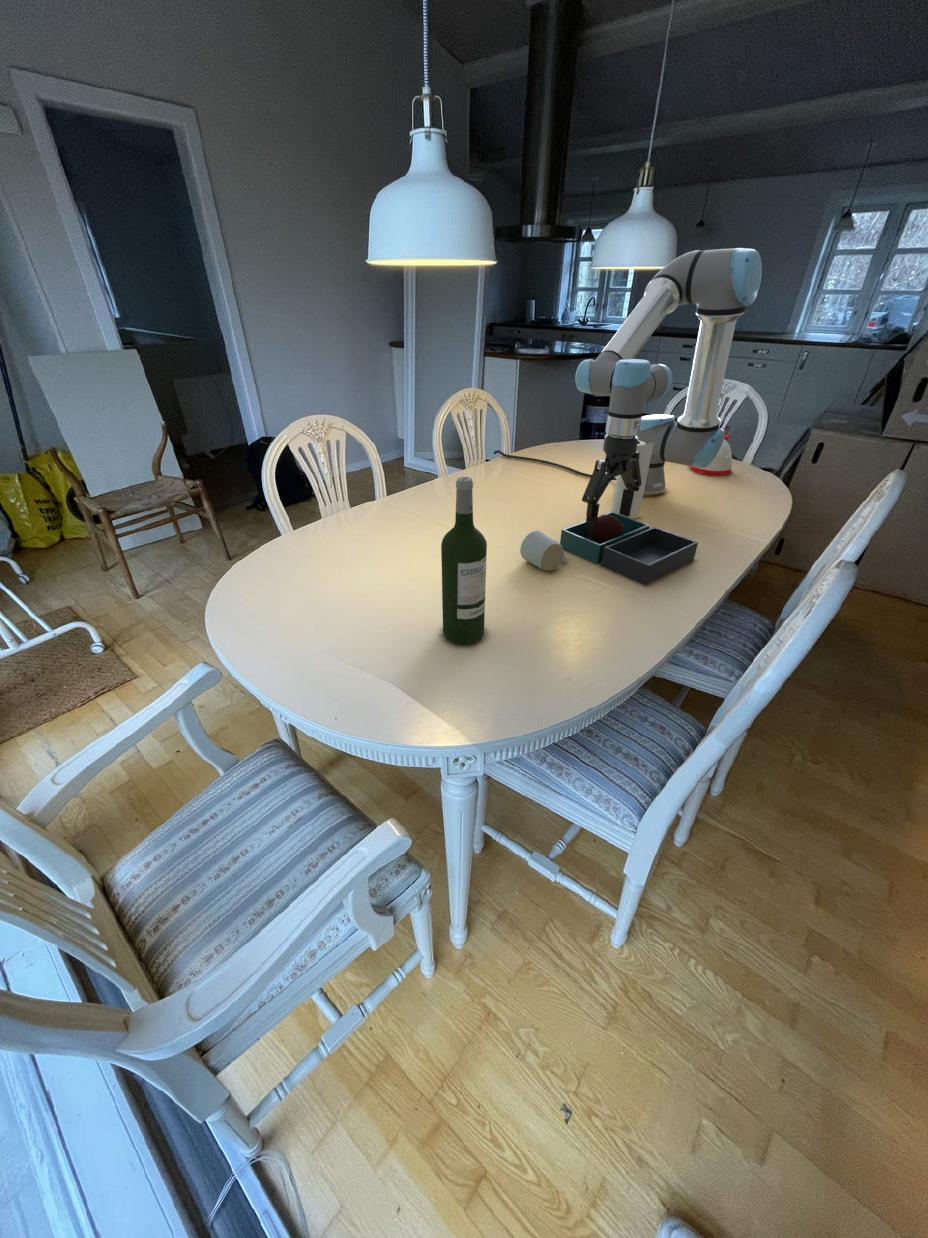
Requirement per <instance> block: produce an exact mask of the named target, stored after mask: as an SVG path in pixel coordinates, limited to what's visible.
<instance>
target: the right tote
mask: <svg viewBox="0 0 928 1238" xmlns="http://www.w3.org/2000/svg"><path fill="white" fill-rule="evenodd" d="M698 545H699V542H698V541H696V540H693V539H690V538H687V537H685V536H681V535H680V534H676V533H674V532H671V531H668V530H665V529H661V528H659V527H656V526H652V527H650V528H649V529H648V530H645V531H643V532H640V533H638V534H636V535H633V536H631V537H628V538H626V539H623V540H621V541H619V542H616V543H614V544H611V545H609V546H606V547H604V552H603V558H602V562H601V565H600V566H601V567H602V568H605V569H607V570H610V571H611V572H613V573H616V574H618V575H620V576H622V577H625V578H627V579H630V580H632V581H634V582H636V583H638V584H641V585H643V586H647V585H648V584H650V583H652V582H654V581H656V580H658V579H660V578H662V577H664V576H666V575H668V574H669V573H671V572H674V571H676V570H678V569H679V568H682V567H683V566H685V565H687V564H689V563H692V562H694V559H695V556H696V551H697V549H698Z"/></svg>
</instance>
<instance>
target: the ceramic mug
mask: <svg viewBox="0 0 928 1238" xmlns="http://www.w3.org/2000/svg"><path fill="white" fill-rule="evenodd" d="M519 550H520V556H521V557H522V559H523V560H525V561H526V562H528V563H530V564H532V565H533V566H535V567H537V568H539V569H540V570H542V571H545V572H551V571H554V570H555V569H557V568H558V567H559V566H560V564H561V563H563V564H564V563H565V562H566V561H567V559H568V556H567V555H565V550H564V549H563V547H562V546H561V545H560V542H558V541H557V540H555V539H553V538H552V537H550V536H549V535H547V534H545V532H542V531H540V530H533V531H531V532H530V533H528V534H527V535H525V537H524V538H523V540H522V543H521V545H520V549H519Z"/></svg>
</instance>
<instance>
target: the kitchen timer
mask: <svg viewBox="0 0 928 1238" xmlns="http://www.w3.org/2000/svg"><path fill="white" fill-rule="evenodd" d="M721 428H722V429H723V430H724V431H725V436H724V440H723V443H722V445H721V448H720V450H719V452H718V454H717V455H716V457H715V459H714V460H713V461H712V463H711V464H710V465H709V466H707V467H705V468H698V467H690V466H689V469H690V471H692V472H695V473H696V474H701V475H707V476H713V477H715V476H716V477H717V476H719V477H720V476H727V475H730V474H731V470H732V468H733V454H732V449H731V447H730V444H729V442H728V439H729V437H730V436H731V433H728V430H725V428H724V427H721ZM727 433H728V434H727Z"/></svg>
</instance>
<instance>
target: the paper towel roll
mask: <svg viewBox="0 0 928 1238" xmlns="http://www.w3.org/2000/svg"><path fill="white" fill-rule="evenodd" d="M653 444H654V443H650V444H646V443H645V442H643V441H638V443H637V449H636V452H639V453H640V455H639V467H640V474H641V482H642V484H641V486H640V487H639V491H634V496H633V501H632V506H631V511H630V516H628V518H631V519H635V518H639V517H640V513H641V508H642V504H643V499H644V496H643V494H644V489H645V484H646V479H647V474H648V469H649V464H650V459H651V454H652V449H653ZM615 478H616V480H615V484H614V491H613V495H612V496H613V497H612V502H611V508H610V512H614V513H617V514H619V512H620V506H621V500H622V495H623V489H627V488H626V486H625V484H624V482H623V480H622V477H621V475H618V476H616V477H615ZM619 515H622V514H619ZM622 516H624V515H622ZM625 517H627V516H625Z"/></svg>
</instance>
